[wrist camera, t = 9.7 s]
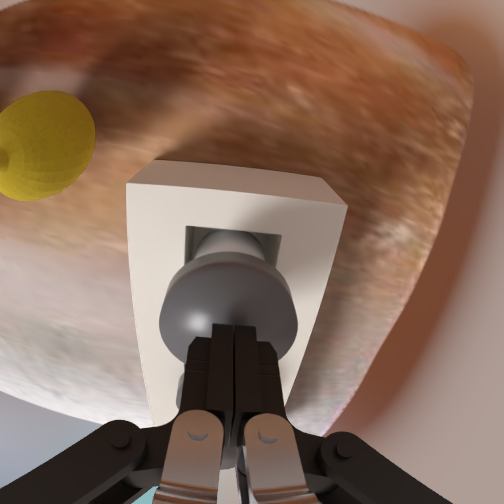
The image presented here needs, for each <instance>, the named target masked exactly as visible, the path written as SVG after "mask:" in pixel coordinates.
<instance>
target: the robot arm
mask: <svg viewBox="0 0 504 504" xmlns="http://www.w3.org/2000/svg"><path fill="white" fill-rule="evenodd" d="M278 366H279V364H278V357H277V352H276V350H275V349H274V348H273V346H272V345H271V343H270V342H266V341H257V335H256V327H255V326H245V325H234V332H233V325H230V324H218V323H212V335H211V338H209V337H198V336H196V337H195V339H194V340H193V341H192V342H191V344H190V345H189V346H188V353H187V361H186V366H185V373H184V380H183V388H182V395H181V403H180V409H179V411H178V413H177V415H176V416H175V417H174V419H172V420H171V421H170V422H168V423H166V424H164V425H161V426H157V427H149V428H142V429H140V428H139V427H138V426H136V425H135V424H133V423H132V422H129V421H125V420H113V421H110V422H108V423H106V424H104V425H103V426H101V427H100V428H98V429H97V430H95V431H94V432H92V433H91V434H89V435H88V436H86V437H84V438H83V439H81V440H80V441H78V442H77V443H75V444H74V445H72V446H71V447H69V448H67V449H66V450H64V451H63V452H61V453H59V454H58V455H56V456H55V457H53V458H52V459H50V460H48V461H47V462H45V463H43V464H42V465H40V466H38V467H37V468H35V469H33V470H32V471H30V472H28V473H27V474H25V475H23V476H22V477H20V478H18V479H16V480H15V481H13V482H11V483H9V484H8V485H6V486H4V487H2V488H1V489H0V504H131V503H133V502H134V501H135V500H137V499H138V498H139V497H141V496H142V495H143V494H144V493H146V492H147V491H148V490H150V489H151V488H152V487H154V486H159V487H158V488H157V489H156V491H155V494H154V497H153V501H152V504H217V492H218V482H219V471H220V467H221V464H222V457H223V451H224V447H227V445H228V439H229V447H237V461H236V465H235V470H236V479H237V488H238V496H239V504H453V503H451V502H450V501H448V500H446V499H445V498H443V497H442V496H440V495H439V494H437V493H436V492H434V491H433V490H431V489H430V488H428V487H427V486H425V485H424V484H422V483H421V482H419V481H418V480H416V479H415V478H413V477H412V476H410V475H409V474H408V473H406V472H405V471H403V470H402V469H401V468H399V467H398V466H396V465H395V464H394V463H392V462H391V461H389V460H388V459H387V458H385V457H384V456H383V455H381V454H380V453H379V452H377V451H376V450H375V449H373V448H372V447H371V446H369V445H368V444H367V443H365V442H364V441H363V440H361V439H360V438H359V437H357V436H356V435H354V434H352V433H349V432H335V433H332V434H330V435H329V436H327V437H326V438H325V437H320V436H316V435H312V434H308V433H304V432H302V431H300V430H298V429H296V428H295V427H294V426H293V425H292V424H291V423H290V422H289V420H288V419H287V416H286V413H285V407H284V399H283V392H282V385H281V378H280V371H279V367H278Z"/></svg>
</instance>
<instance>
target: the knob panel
mask: <svg viewBox="0 0 504 504" xmlns="http://www.w3.org/2000/svg"><path fill="white" fill-rule="evenodd" d="M126 204H127V234H128V252H129V267H130V279H131V290H132V299H133V309H134V317H135V325H136V332H137V339H138V346H139V353H140V359H141V365H142V371H143V376H144V382H145V387H146V392H147V397H148V402H149V407H150V412H151V416H152V421H153V425H154V427H157V426H161V425H164V424H166V423H168V422H170V421H171V420H172V419H174V417H175V416H176V415H177V413H178V411H179V410H178V408H177V406H176V396H177V389H178V382H179V379H180V377H181V375H182V374H183V373H184V372H185V366H186V364H184V363H183V362H181V361H180V360H179V359H177V358H176V357H175V356H174V355H173V354H172V353H171V352H170V351H169V349H168V348H167V347H166V345H165V343H164V342H163V340H162V337H161V334H160V329H159V317H160V312H161V308H162V305H163V302H164V298H165V295H166V292H167V288H168V286H169V283H170V281H171V280H172V278H173V276H174V275H175V274H176V273H177V271H178V270H179V269H181V268H182V267H183V266H184V265H185V264H187V263H188V262H190V261H191V260H194V256H195V252H196V248H197V246H198V244H199V243H200V241H201V240H202V239H203V238H204V237H205V236H206V235H207V234H209V233H210V232H212V231H214V230H217V229H229V230H239V231H247V232H249V233H251V234H252V235H253V236H255V237H256V238H257V239H258V241H259V242H260V244H261V245H262V248H263V250H264V255H265V261H266V262H268V263H269V264H271V265H272V266H273V267H275V268H276V269H277V270H278V271H279V272H280V273H281V274H282V276H283V277H284V278H285V280H286V282H287V284H288V286H289V288H290V291H291V295H292V299H293V303H294V307H295V310H296V314H297V320H298V331H297V336H296V339H295V341H294V343H293V345H292V347H291V348H290V350H289V351H288V352H287V353H286V355H285V356H283V357H282V358H281V359H280V360H279V361H278V364H279V366H278V367H279V371H280V378H281V385H282V392H283V399H284V407H285V404H286V402H287V399H288V397H289V394H290V391H291V389H292V386H293V383H294V381H295V378H296V375H297V372H298V370H299V367H300V364H301V361H302V358H303V356H304V353H305V350H306V347H307V344H308V341H309V338H310V335H311V332H312V329H313V326H314V323H315V320H316V317H317V314H318V311H319V307H320V304H321V301H322V298H323V295H324V291H325V288H326V285H327V281H328V278H329V275H330V271H331V268H332V264H333V261H334V257H335V254H336V250H337V246H338V243H339V239H340V235H341V231H342V228H343V224H344V220H345V216H346V212H347V208H348V205H347V204H346V203H345V202H344V201H343V200H342V199H341V198H340V197H339V196H338V195H337V194H336V193H335V191H334V190H333V189H332V188H331V187H330V186H329V185H328V184H327V183H326V182H325V181H324V180H323V179H322V178H321V177H315V176H308V175H301V174H295V173H287V172H280V171H272V170H264V169H256V168H247V167H238V166H229V165H218V164H207V163H195V162H182V161H167V160H153V161H151V162H150V163H149V164H148V165H147V166H145V167H144V168H143V169H142V170H141V171H140V172H138V173H137V174H136V175H135V176H134V177H133V178H131V179H130V180H129V181H128V182H127V183H126Z"/></svg>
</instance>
